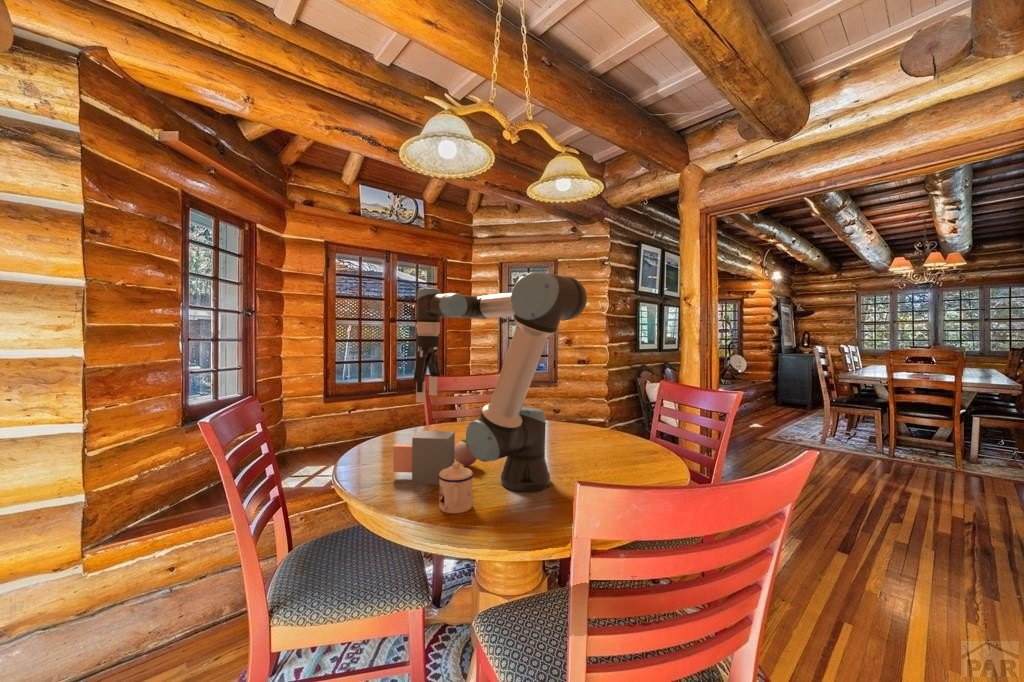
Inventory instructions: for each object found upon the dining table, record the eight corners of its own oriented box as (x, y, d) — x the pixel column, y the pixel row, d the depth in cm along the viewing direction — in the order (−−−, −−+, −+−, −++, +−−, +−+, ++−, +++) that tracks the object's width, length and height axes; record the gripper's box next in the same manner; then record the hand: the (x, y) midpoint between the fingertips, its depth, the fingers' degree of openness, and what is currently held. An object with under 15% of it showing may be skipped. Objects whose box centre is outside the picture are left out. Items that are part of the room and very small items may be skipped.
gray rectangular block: (454, 474, 133) (454, 431, 133) (447, 485, 124) (448, 438, 124) (420, 473, 134) (420, 430, 134) (411, 483, 125) (411, 437, 125)
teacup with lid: (439, 500, 113) (439, 458, 113) (472, 499, 114) (473, 457, 114) (436, 520, 101) (436, 473, 101) (473, 519, 102) (474, 472, 102)
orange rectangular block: (447, 471, 130) (447, 445, 130) (445, 473, 127) (445, 448, 127) (396, 469, 131) (396, 444, 131) (393, 471, 129) (393, 446, 128)
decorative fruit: (447, 465, 142) (448, 436, 142) (468, 461, 147) (468, 433, 147) (462, 473, 135) (462, 442, 134) (483, 468, 140) (483, 438, 140)
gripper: (428, 334, 151) (427, 392, 151) (403, 335, 126) (402, 405, 127) (448, 334, 150) (447, 393, 151) (427, 336, 125) (426, 406, 126)
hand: (427, 398), depth 139 cm, fingers open, 13 cm apart
